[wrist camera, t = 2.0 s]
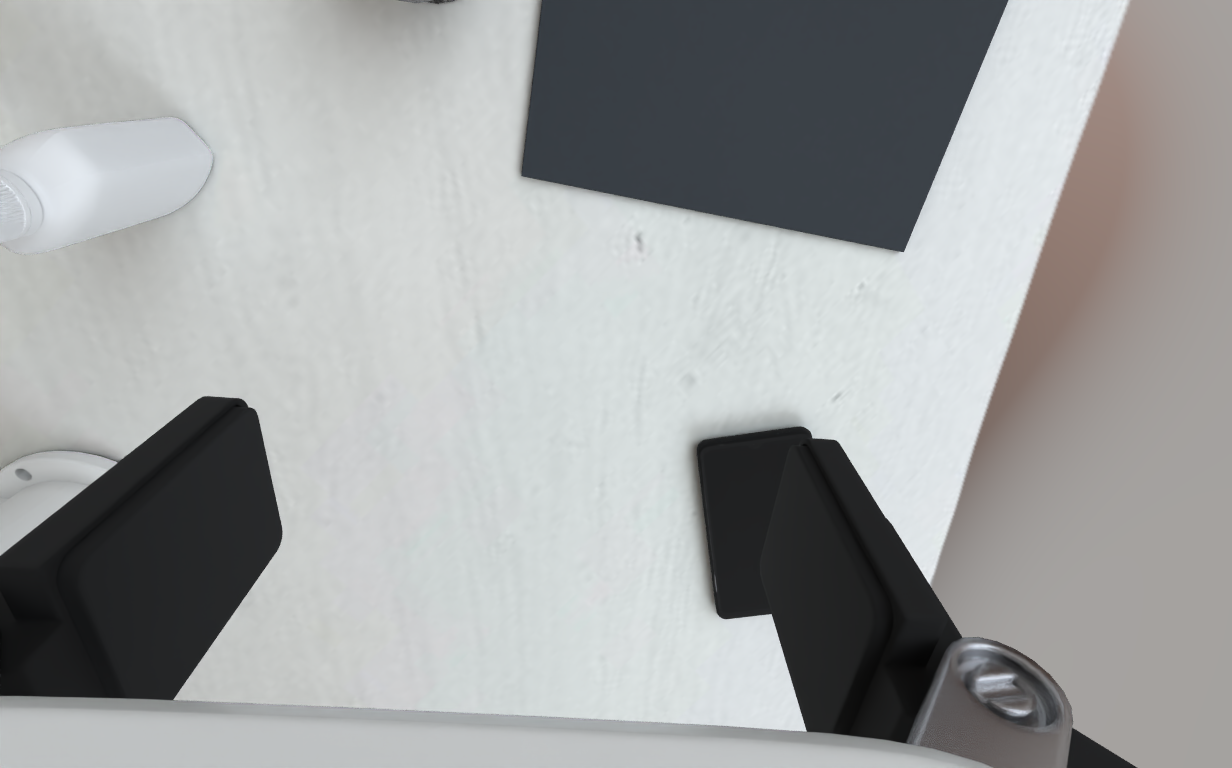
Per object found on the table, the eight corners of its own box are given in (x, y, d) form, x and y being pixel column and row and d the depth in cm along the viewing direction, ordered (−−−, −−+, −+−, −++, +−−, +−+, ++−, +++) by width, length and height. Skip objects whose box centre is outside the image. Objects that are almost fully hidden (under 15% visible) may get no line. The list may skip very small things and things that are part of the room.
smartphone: (717, 621, 43) (696, 445, 36) (716, 612, 43) (694, 438, 37) (816, 610, 42) (813, 429, 35) (812, 600, 43) (809, 422, 36)
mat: (522, 175, 30) (521, 176, 29) (583, -342, 22) (583, -347, 21) (901, 250, 32) (903, 252, 31) (1085, -196, 24) (1091, -199, 23)
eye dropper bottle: (86, 127, 28) (-231, 157, 18) (202, 113, 28) (-46, 135, 17) (129, 220, 30) (-132, 299, 20) (238, 208, 30) (35, 281, 19)
